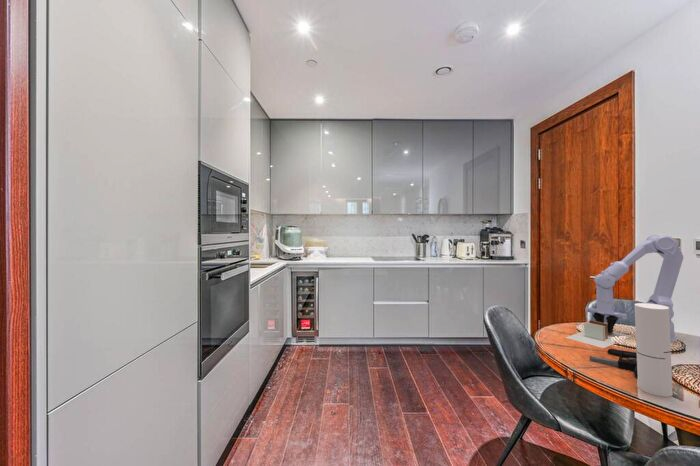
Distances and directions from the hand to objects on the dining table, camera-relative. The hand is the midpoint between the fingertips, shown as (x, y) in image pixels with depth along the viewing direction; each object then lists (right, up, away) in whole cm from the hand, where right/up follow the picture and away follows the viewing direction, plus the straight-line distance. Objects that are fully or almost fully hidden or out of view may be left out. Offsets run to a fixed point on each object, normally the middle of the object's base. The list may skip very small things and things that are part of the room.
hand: (606, 331), depth 132 cm
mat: (-6, -2, -3) cm, 7 cm away
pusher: (-2, -1, -1) cm, 3 cm away
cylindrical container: (-24, -3, -44) cm, 51 cm away
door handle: (-19, -3, -27) cm, 33 cm away
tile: (-9, -2, -4) cm, 10 cm away
